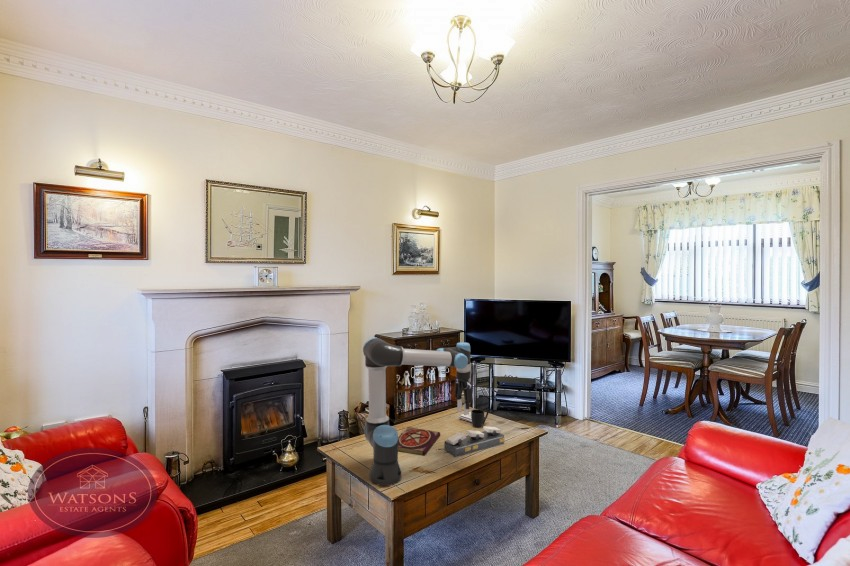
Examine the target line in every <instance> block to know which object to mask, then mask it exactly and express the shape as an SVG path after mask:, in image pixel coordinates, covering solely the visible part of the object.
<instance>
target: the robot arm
mask: <svg viewBox="0 0 850 566" xmlns="http://www.w3.org/2000/svg"><path fill="white" fill-rule="evenodd" d="M362 352H363V356H364V360H365V363H364V364H365V368H367V369H368V374H367V375H368V416H367V417H366V418H365V424H364V427H363V434H364V437H365V439H366V440H367V441H368V443H369V444H370V446H371V447H372V450H373V456H372V457H373V462H372V465H371V469H370V472H369V481H370V482H371V481H372V482H371V483H373V484H374V483H375V485H377V484H379V485H378V486H391V485H390V484H392V485H394V483H395V484H397V483H399V482H400V481H401V480H402V470H401V467H400V464H399V459H398V458H399V457H398V456H399V452H398V437H399V435H398V434H399V433H398V430H397V429H396V427H394V426H392V425H390V417H389V416H388V415H387V396H386V395H387V392H386V391H387V390H386V389H387V388H386V386H387V385H386V384H387V383H386V381H387V379H386V369H387V367H401V366H402V365H410V366H426V367H427V366H429V367H430V366H431V367H448V368H449V367H450V368H456V378H455V379H454V398H456V406H457V408H456V409H457V411H456V412H462V411H463V415H464V416H467V415H469V414H470V404H471V403H473V390H472V389H473V384H471V383H470V382H469V380H470V379H471V352H472V351H471V345H470V343H469V342H462V341H461V342H457V343H456V346H454V347H439V348H437V349H436V350H431V349H429V350H428V349H427V350H426V349H413V348H404V347H403V346H402V345H401V346H400V345H394V344H391V343H389V342H387V341H385V340H383V339H382V338H378V337H371V338H369V339H368V340H367V341H366V342H364V344H363V348H362ZM462 396H463V397H464V402H463V397H462ZM400 479H401V480H400ZM398 481H399V482H398ZM396 482H397V483H396Z"/></svg>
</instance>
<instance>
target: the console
mask: <svg viewBox="0 0 850 566" xmlns="http://www.w3.org/2000/svg"><path fill="white" fill-rule="evenodd" d="M481 432H482V433H483V434H484V437H479V439H475V438H474V437H471V436H469V435H468V434H466V438H465V439H463V440H462V443H461V444H458V443H456V444H454V445H452V444H451V443H449V442H448V439H447V440H444V449H443V450H444V451H445V452H446V453H448V454H450V455H451V456H452V457H454V458H456V457H460V456H464V455H468V454H472V453H475V452H478V451H482V450H487V449H490V448H494V447H497V446H501V445H504V444H505V435H504V434H502V433H501V432H500V433H496V434H495V435H493V434H491V433H489V432H487V431H485V430H483V431H481Z"/></svg>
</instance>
